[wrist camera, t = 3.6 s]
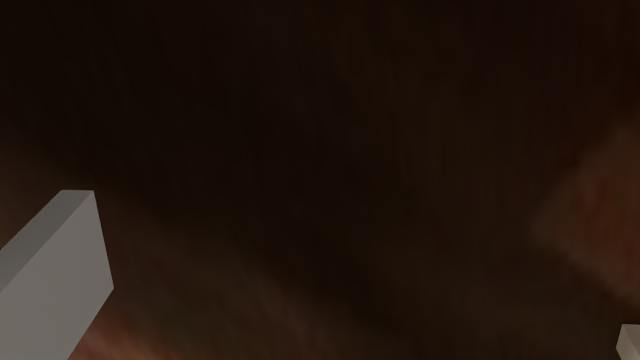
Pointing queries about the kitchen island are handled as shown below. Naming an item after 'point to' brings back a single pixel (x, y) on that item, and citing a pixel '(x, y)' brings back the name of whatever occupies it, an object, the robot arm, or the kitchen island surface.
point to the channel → (629, 342)
